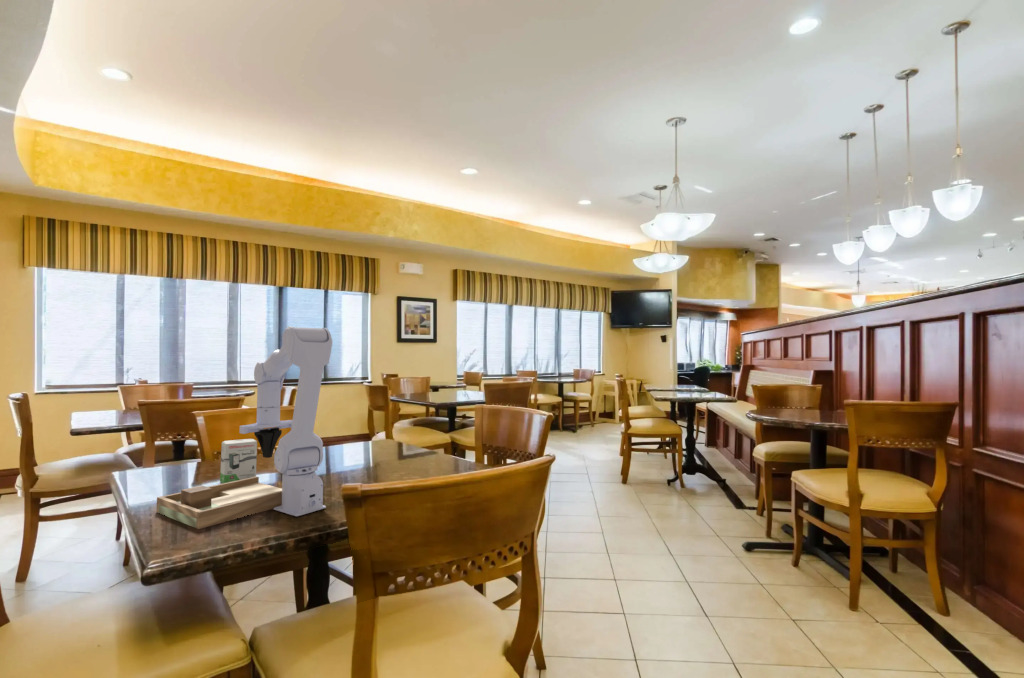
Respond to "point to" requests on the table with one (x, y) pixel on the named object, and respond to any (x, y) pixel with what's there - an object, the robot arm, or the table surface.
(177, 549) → the table surface
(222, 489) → the board
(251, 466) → the ink box
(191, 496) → the walnut block
